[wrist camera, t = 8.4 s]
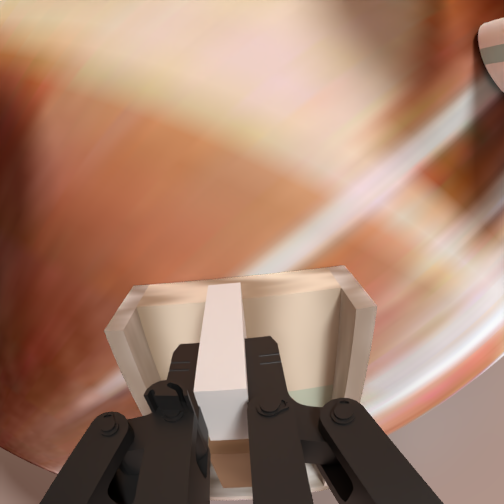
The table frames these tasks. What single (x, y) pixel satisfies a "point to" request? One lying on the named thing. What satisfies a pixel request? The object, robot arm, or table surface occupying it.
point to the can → (493, 49)
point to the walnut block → (231, 462)
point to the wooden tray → (257, 325)
